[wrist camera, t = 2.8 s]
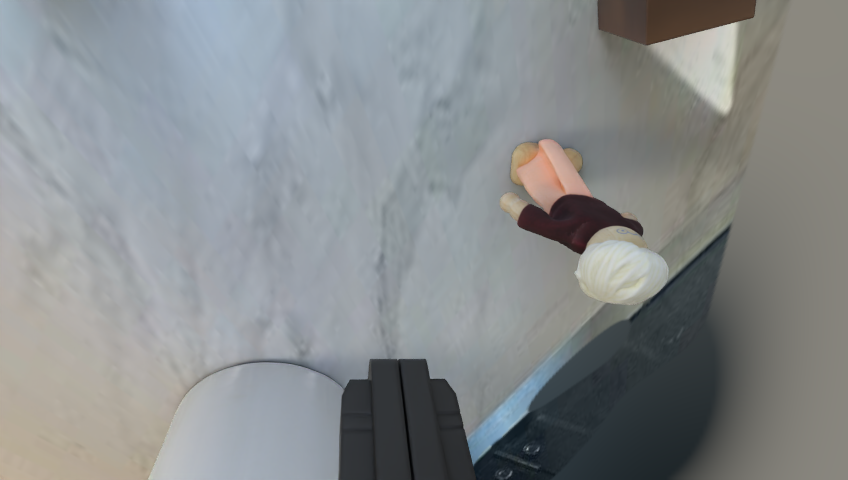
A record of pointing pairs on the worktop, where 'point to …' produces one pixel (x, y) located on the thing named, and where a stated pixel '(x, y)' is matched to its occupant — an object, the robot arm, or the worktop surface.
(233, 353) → the worktop surface
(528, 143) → the grandmother figurine
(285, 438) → the utensil holder
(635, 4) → the walnut block
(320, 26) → the worktop surface
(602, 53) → the worktop surface
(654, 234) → the worktop surface
